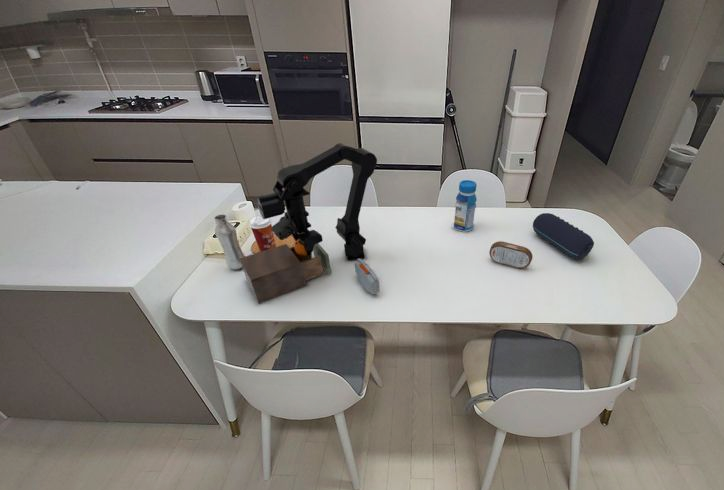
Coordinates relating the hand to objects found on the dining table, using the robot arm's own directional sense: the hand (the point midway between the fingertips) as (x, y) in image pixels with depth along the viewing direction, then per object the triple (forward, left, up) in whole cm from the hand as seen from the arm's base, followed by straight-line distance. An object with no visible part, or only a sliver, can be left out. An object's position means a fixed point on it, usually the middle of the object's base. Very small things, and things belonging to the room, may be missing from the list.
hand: (304, 251), depth 118 cm
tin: (-71, +11, -9) cm, 72 cm away
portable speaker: (-96, +4, -9) cm, 97 cm away
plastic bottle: (+25, -9, -9) cm, 28 cm away
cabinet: (+11, +4, -9) cm, 15 cm away
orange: (-2, -1, 0) cm, 2 cm away
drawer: (+1, 0, -8) cm, 8 cm away
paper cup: (+15, -16, -9) cm, 24 cm away
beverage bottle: (-64, -18, -9) cm, 67 cm away
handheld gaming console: (-19, +12, -9) cm, 24 cm away
